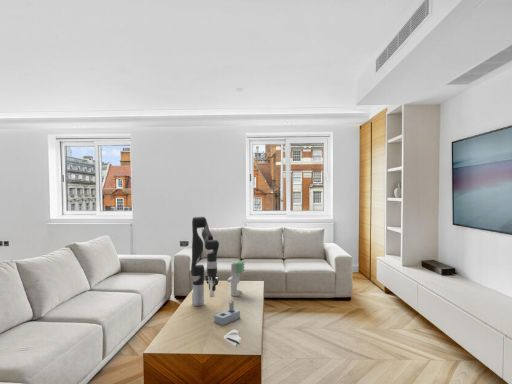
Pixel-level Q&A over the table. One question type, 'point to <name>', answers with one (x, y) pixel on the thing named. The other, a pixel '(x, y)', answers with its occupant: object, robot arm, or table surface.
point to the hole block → (226, 316)
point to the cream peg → (211, 290)
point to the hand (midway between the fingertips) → (212, 290)
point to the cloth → (233, 337)
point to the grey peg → (231, 306)
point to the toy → (235, 277)
